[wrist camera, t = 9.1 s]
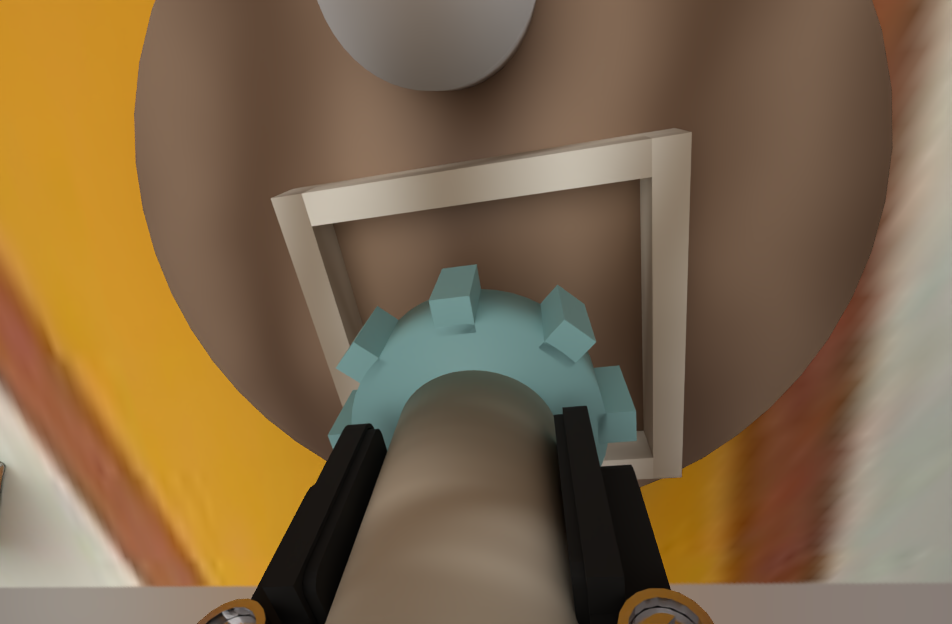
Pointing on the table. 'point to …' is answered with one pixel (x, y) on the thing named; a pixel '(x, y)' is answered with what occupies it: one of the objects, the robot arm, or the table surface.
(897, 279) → the table surface
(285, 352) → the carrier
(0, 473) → the small box
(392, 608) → the gear
